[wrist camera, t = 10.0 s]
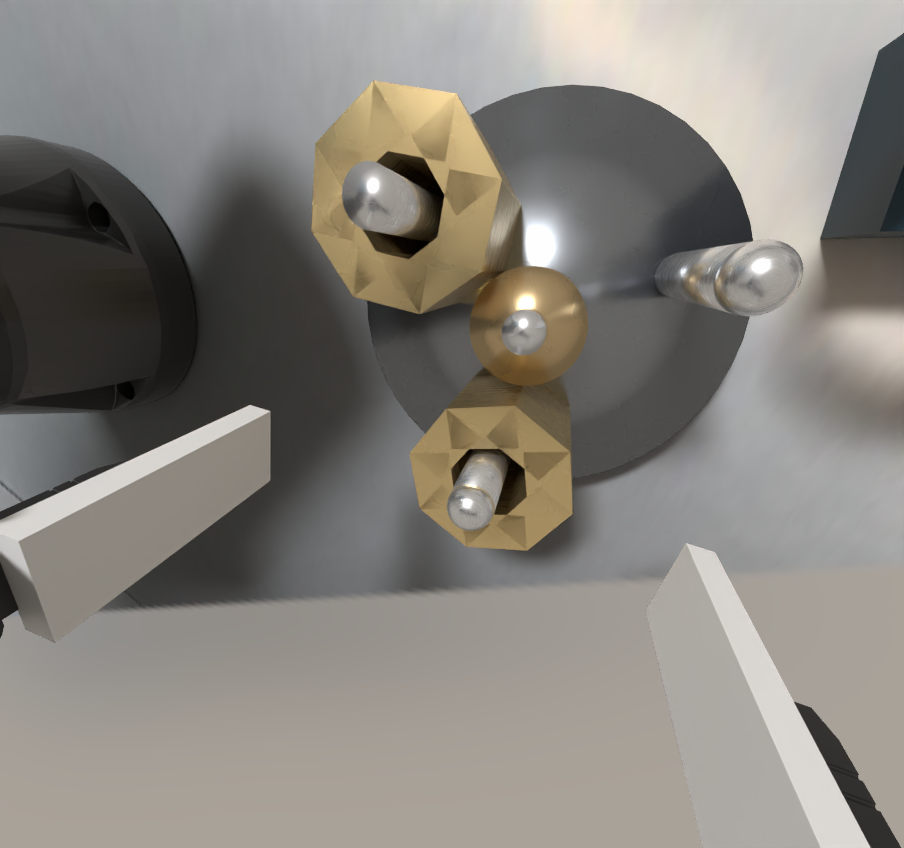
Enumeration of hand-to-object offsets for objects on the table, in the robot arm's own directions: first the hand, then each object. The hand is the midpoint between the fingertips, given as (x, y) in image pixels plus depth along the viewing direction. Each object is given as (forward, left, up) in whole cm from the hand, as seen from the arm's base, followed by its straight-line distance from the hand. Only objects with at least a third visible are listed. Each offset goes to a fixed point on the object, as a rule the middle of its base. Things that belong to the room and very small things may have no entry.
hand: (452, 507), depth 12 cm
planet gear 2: (+1, 0, -8) cm, 8 cm away
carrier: (0, +5, -9) cm, 11 cm away
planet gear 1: (-4, +8, -8) cm, 12 cm away
